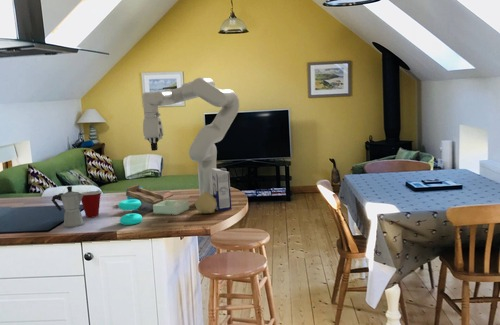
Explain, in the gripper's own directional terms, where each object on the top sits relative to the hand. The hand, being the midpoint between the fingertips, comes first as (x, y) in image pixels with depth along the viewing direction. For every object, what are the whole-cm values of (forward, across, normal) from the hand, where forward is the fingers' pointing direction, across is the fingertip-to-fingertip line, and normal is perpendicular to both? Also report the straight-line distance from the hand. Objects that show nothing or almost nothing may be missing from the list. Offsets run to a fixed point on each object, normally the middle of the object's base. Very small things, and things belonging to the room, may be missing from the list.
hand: (154, 150), depth 267 cm
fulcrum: (+27, -6, +20) cm, 34 cm away
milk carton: (+27, -44, +10) cm, 53 cm away
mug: (+27, +10, +6) cm, 30 cm away
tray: (+27, -21, +20) cm, 40 cm away
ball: (+24, -25, +20) cm, 40 cm away
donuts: (+27, -14, +42) cm, 52 cm away
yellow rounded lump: (+27, -41, +20) cm, 53 cm away
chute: (+21, -6, +15) cm, 27 cm away
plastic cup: (+27, +14, +36) cm, 47 cm away
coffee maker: (+27, +12, +52) cm, 60 cm away
